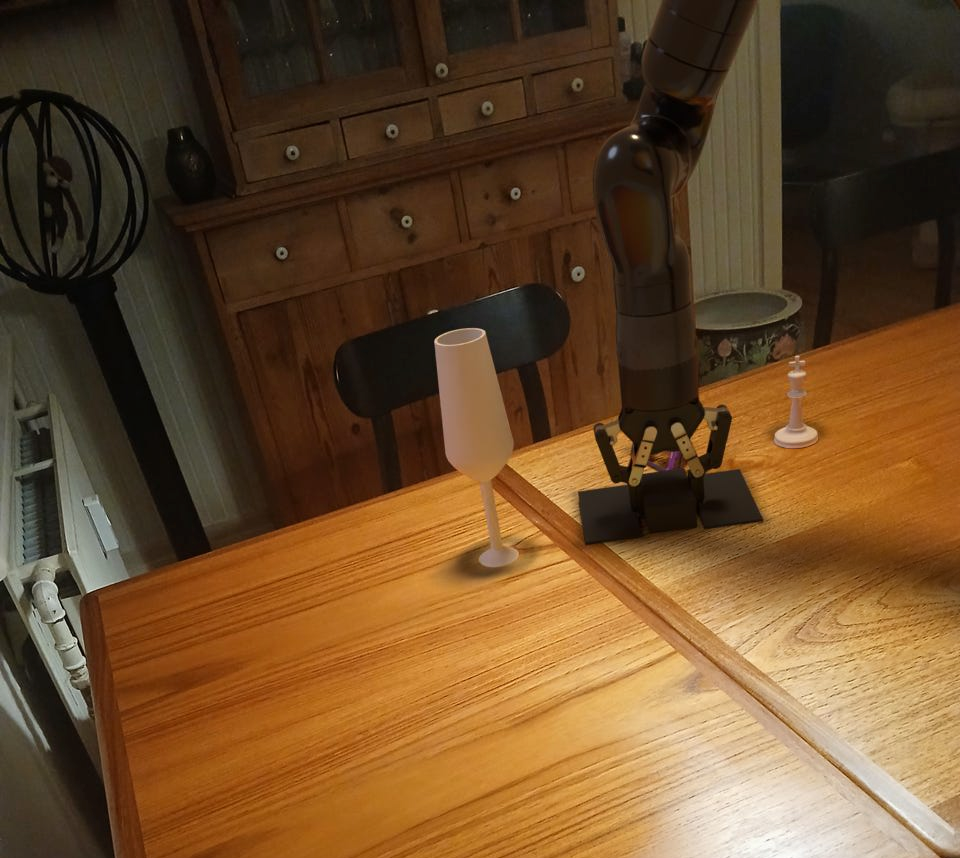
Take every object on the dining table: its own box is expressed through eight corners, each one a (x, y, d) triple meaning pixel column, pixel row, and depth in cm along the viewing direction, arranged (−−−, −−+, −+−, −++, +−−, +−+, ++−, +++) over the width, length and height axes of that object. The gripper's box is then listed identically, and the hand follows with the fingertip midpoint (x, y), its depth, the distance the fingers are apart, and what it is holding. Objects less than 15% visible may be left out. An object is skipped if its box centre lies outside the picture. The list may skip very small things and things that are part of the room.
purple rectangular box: (636, 400, 116) (683, 420, 109) (671, 401, 118) (719, 421, 111) (624, 455, 118) (669, 478, 112) (659, 456, 121) (705, 478, 114)
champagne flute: (472, 550, 106) (429, 330, 93) (534, 545, 105) (499, 320, 92) (464, 583, 101) (418, 353, 87) (529, 577, 99) (492, 344, 86)
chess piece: (820, 446, 113) (822, 361, 107) (775, 450, 114) (775, 366, 108) (815, 429, 117) (818, 346, 111) (772, 432, 118) (772, 351, 112)
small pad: (685, 492, 107) (684, 467, 105) (697, 527, 100) (696, 500, 99) (639, 499, 108) (637, 474, 106) (648, 533, 101) (646, 507, 99)
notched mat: (740, 478, 110) (739, 468, 109) (763, 529, 100) (763, 518, 99) (579, 500, 112) (577, 491, 111) (586, 552, 102) (584, 542, 101)
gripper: (725, 328, 97) (729, 484, 106) (580, 351, 98) (596, 503, 108) (740, 352, 90) (743, 516, 100) (584, 376, 92) (602, 535, 101)
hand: (667, 509), depth 104 cm, fingers closed on small pad, 5 cm apart
